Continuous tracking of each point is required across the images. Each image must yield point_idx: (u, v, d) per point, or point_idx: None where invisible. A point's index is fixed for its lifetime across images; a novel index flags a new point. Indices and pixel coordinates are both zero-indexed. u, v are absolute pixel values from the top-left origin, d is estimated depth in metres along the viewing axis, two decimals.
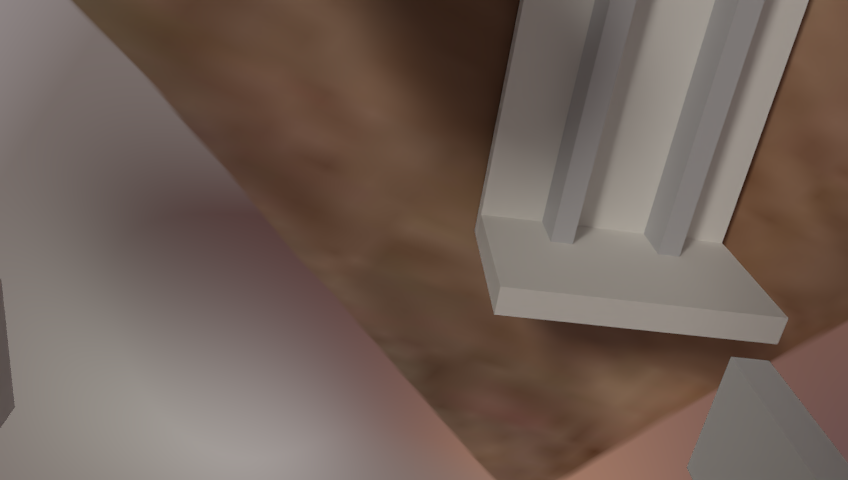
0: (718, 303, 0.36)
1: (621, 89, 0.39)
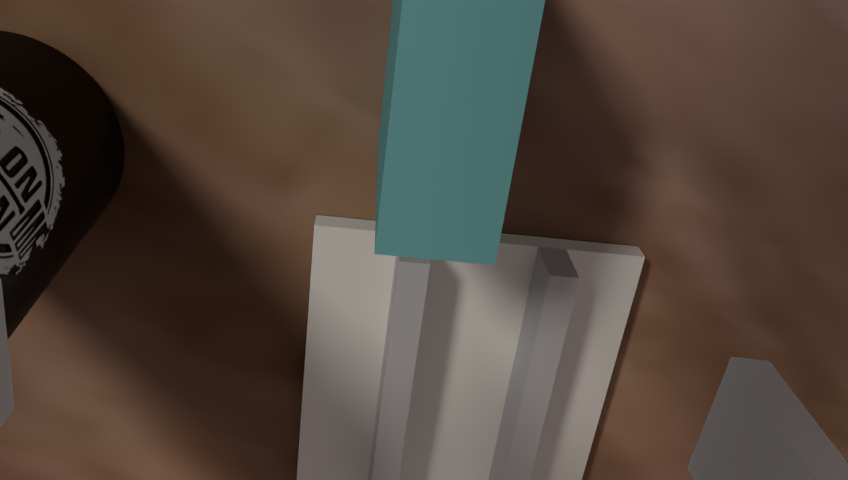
0: None
1: (419, 470, 0.37)
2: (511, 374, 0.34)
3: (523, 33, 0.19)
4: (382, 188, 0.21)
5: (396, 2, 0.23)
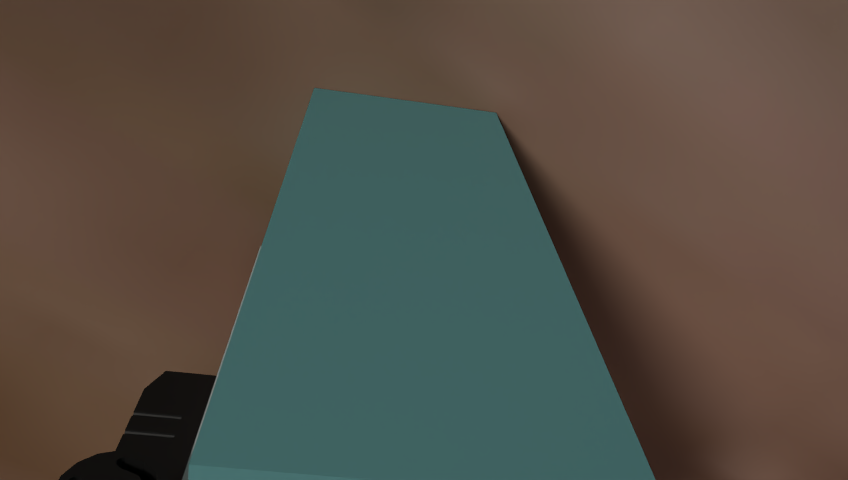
0: None
1: None
2: None
3: None
4: None
5: None
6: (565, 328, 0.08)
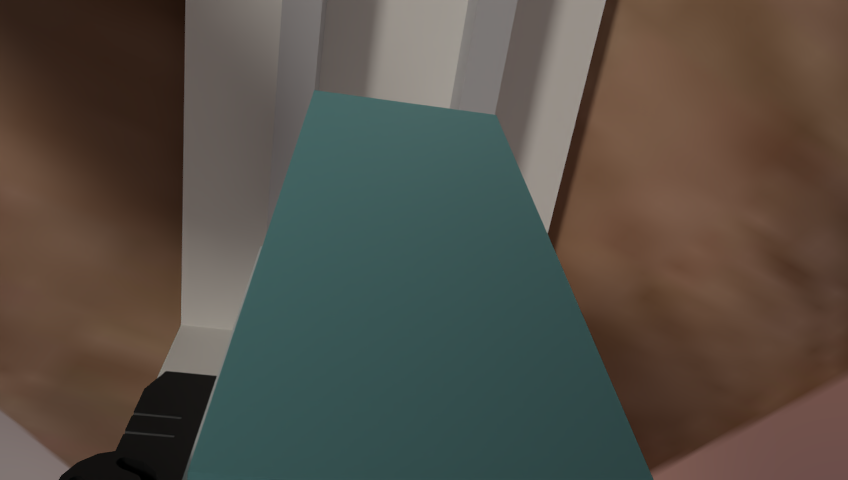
0: None
1: None
2: (467, 7, 0.26)
3: None
4: None
5: None
6: (565, 333, 0.08)
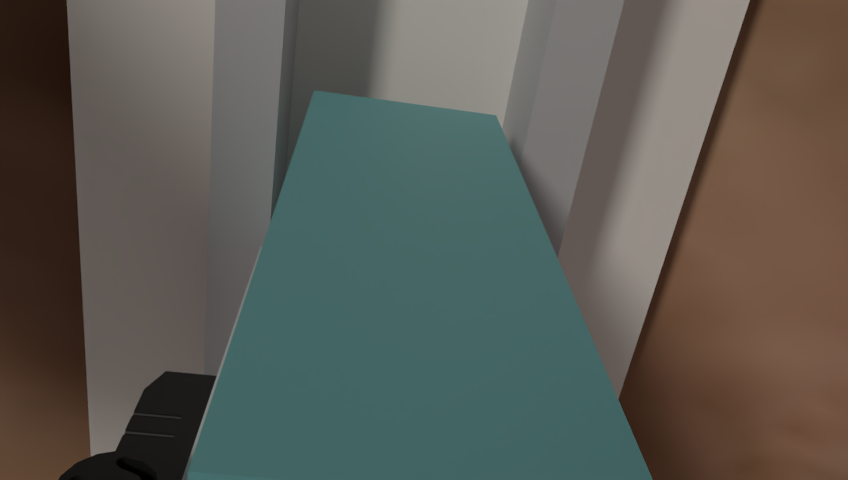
0: None
1: None
2: (511, 87, 0.16)
3: None
4: None
5: None
6: (565, 333, 0.08)
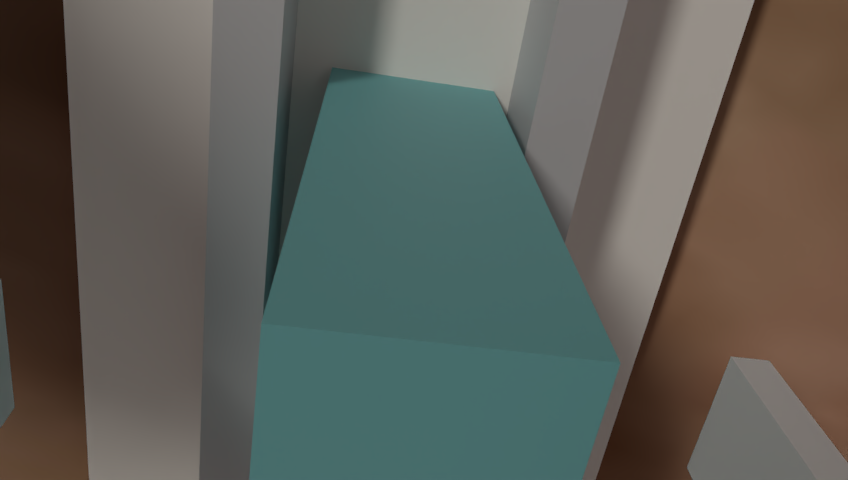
0: None
1: None
2: (512, 90, 0.16)
3: None
4: None
5: None
6: (548, 250, 0.10)
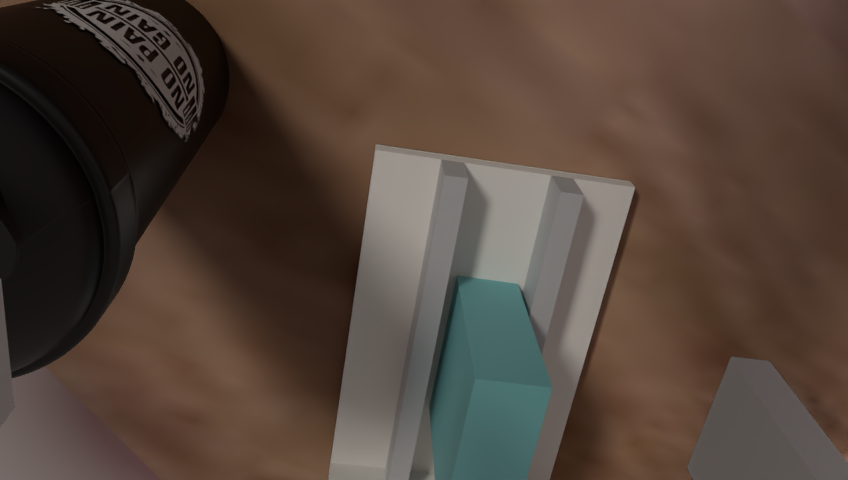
0: None
1: None
2: (524, 284, 0.42)
3: (531, 430, 0.34)
4: None
5: (454, 367, 0.39)
6: (537, 358, 0.36)
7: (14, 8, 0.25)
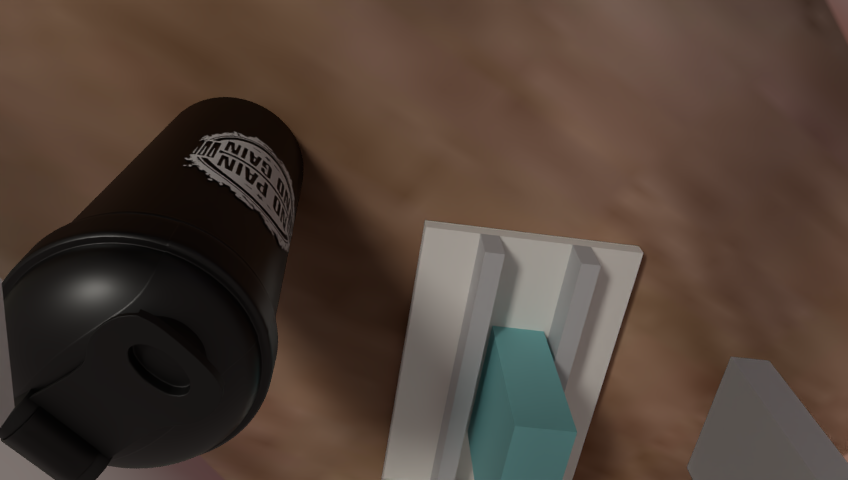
0: None
1: None
2: (549, 331, 0.50)
3: (559, 465, 0.42)
4: None
5: (493, 407, 0.47)
6: (563, 404, 0.43)
7: (168, 168, 0.32)
